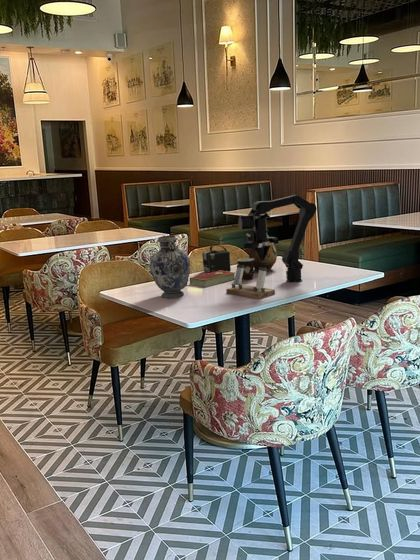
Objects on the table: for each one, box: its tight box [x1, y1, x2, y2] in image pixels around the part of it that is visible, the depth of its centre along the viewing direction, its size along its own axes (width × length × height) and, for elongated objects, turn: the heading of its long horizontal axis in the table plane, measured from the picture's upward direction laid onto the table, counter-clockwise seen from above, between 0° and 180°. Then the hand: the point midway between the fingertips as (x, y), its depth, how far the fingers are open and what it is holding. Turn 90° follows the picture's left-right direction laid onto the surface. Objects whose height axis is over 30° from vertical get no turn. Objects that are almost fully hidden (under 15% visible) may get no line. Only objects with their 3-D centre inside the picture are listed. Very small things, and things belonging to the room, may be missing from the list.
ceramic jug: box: [248, 218, 278, 272], centre depth 292 cm, size 17×15×30 cm
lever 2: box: [255, 267, 268, 289], centre depth 236 cm, size 2×3×9 cm, turn 41°
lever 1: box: [233, 263, 245, 286], centre depth 246 cm, size 2×3×9 cm, turn 42°
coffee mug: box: [236, 257, 262, 281], centre depth 273 cm, size 12×9×10 cm
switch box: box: [226, 282, 276, 300], centre depth 242 cm, size 11×20×4 cm, turn 42°
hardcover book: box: [189, 270, 236, 287], centre depth 273 cm, size 12×21×4 cm, turn 131°
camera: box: [202, 244, 232, 274], centre depth 299 cm, size 11×14×15 cm
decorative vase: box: [149, 234, 191, 299], centre depth 247 cm, size 21×19×28 cm
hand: (262, 260), depth 256 cm, fingers closed
